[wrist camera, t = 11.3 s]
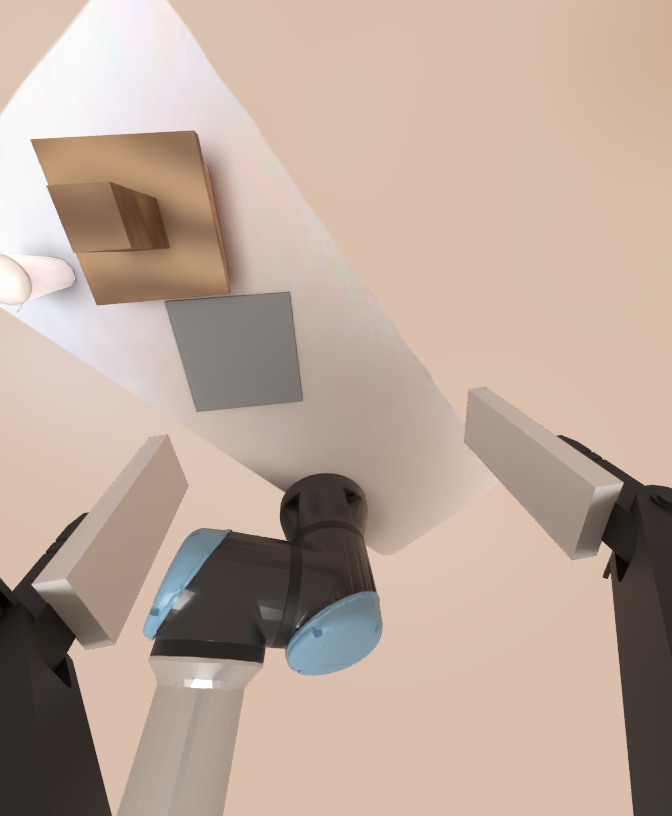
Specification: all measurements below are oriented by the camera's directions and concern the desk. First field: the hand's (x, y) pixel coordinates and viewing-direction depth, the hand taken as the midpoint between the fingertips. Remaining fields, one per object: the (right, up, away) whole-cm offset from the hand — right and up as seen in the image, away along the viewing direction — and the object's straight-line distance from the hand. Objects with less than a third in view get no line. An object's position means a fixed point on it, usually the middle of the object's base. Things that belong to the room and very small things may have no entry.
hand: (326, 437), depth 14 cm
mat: (-12, +8, +29) cm, 32 cm away
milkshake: (-31, +16, +22) cm, 42 cm away
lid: (-18, +19, +16) cm, 30 cm away
